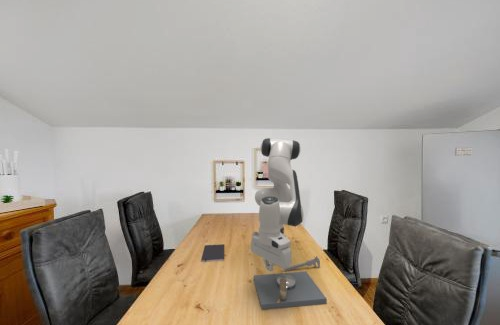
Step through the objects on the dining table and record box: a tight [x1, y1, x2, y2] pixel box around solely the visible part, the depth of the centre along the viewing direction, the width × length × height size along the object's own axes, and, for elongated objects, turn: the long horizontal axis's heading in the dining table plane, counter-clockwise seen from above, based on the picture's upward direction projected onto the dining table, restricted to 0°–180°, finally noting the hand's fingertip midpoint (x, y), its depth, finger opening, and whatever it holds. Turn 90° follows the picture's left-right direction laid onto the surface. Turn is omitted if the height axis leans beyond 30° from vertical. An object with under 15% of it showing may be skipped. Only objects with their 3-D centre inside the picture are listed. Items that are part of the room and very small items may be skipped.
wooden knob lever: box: [277, 275, 295, 300], centre depth 92 cm, size 15×8×7 cm, turn 164°
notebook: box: [200, 243, 225, 263], centre depth 133 cm, size 13×2×21 cm
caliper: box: [281, 255, 321, 272], centre depth 113 cm, size 20×1×6 cm, turn 100°
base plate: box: [253, 271, 328, 311], centre depth 95 cm, size 21×26×2 cm
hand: (269, 269), depth 91 cm, fingers closed
